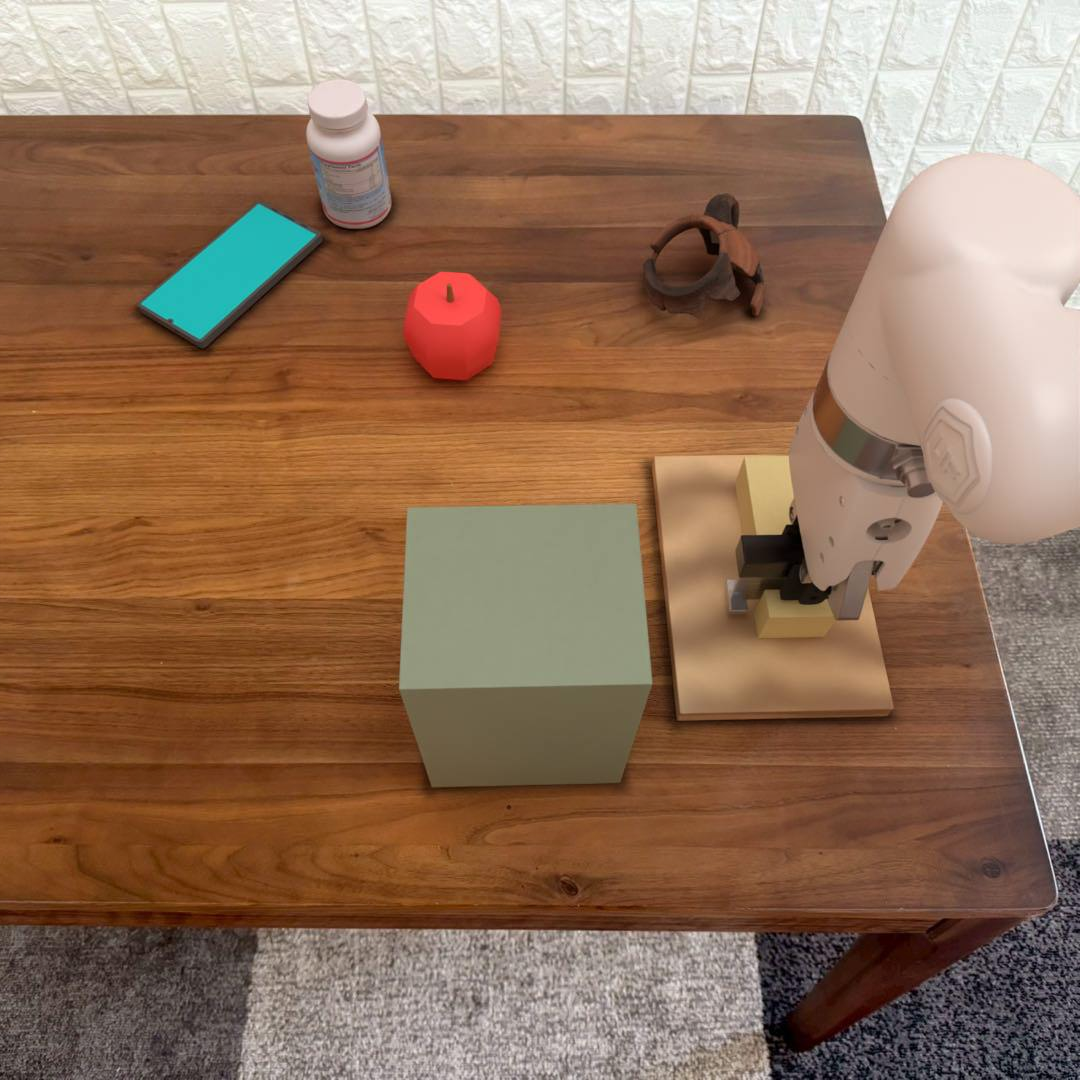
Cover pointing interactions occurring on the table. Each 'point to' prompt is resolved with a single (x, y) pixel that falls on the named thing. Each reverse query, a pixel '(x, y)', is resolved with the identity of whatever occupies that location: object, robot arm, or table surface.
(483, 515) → the stand
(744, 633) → the board
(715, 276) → the broken pottery vessel
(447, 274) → the apple
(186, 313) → the smartphone
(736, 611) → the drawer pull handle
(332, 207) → the pill bottle
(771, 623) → the butter slice
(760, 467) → the butter stick
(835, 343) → the robot arm
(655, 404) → the table surface
